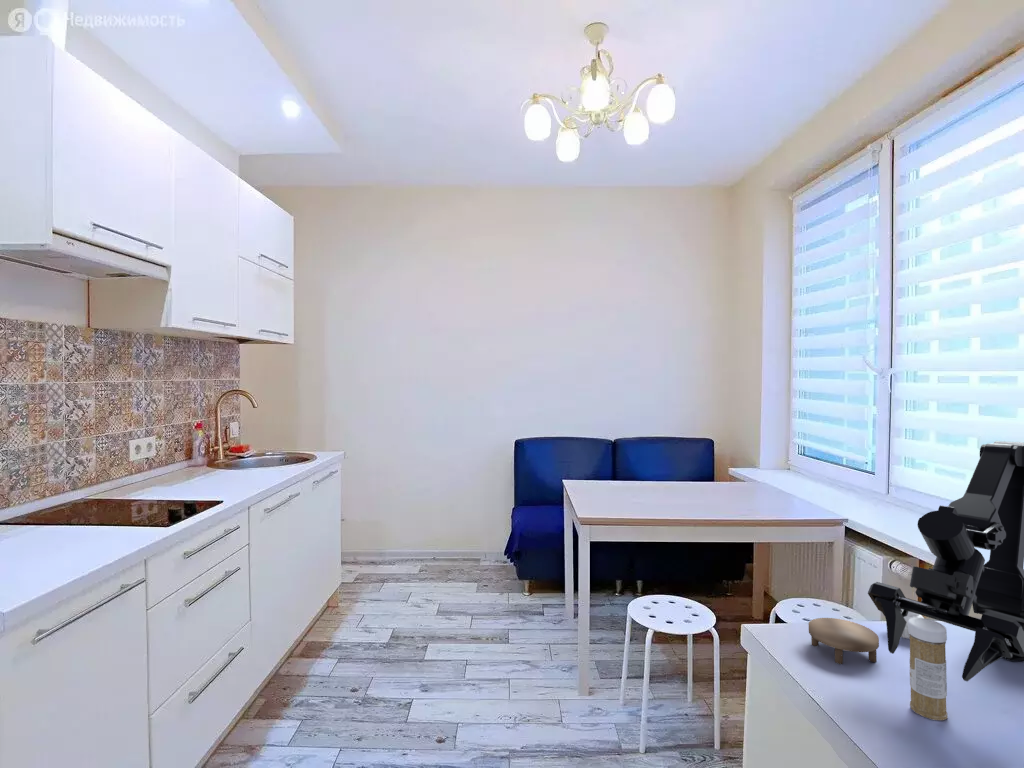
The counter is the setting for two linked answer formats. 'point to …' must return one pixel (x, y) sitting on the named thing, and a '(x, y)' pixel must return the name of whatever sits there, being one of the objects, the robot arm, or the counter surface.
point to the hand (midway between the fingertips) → (925, 665)
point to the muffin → (909, 616)
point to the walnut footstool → (844, 637)
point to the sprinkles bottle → (928, 668)
